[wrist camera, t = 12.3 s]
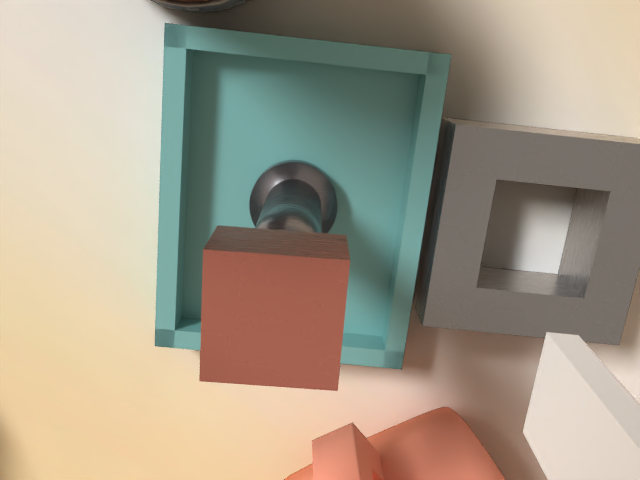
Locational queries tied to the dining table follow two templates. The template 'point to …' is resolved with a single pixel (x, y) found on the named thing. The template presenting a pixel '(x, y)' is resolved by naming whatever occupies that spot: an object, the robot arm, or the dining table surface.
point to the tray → (298, 144)
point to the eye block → (580, 246)
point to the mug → (199, 4)
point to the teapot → (403, 452)
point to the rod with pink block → (277, 286)
